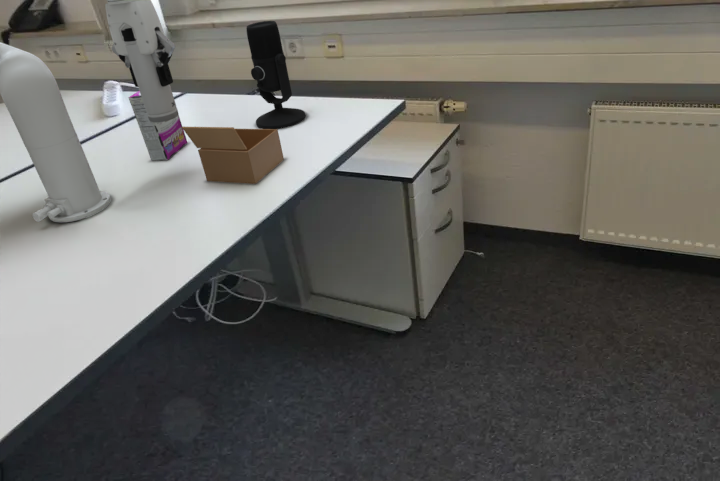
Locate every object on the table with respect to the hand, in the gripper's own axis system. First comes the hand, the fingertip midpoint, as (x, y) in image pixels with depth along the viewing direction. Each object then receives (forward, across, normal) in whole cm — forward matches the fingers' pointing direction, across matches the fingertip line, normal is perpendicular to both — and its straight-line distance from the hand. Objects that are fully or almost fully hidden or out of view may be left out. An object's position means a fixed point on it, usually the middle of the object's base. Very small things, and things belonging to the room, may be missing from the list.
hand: (154, 84), depth 119 cm
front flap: (+10, +15, -4) cm, 18 cm away
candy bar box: (+21, -13, +12) cm, 28 cm away
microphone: (+21, +7, +35) cm, 41 cm away
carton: (+21, +15, +4) cm, 26 cm away
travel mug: (+8, 0, 0) cm, 8 cm away
